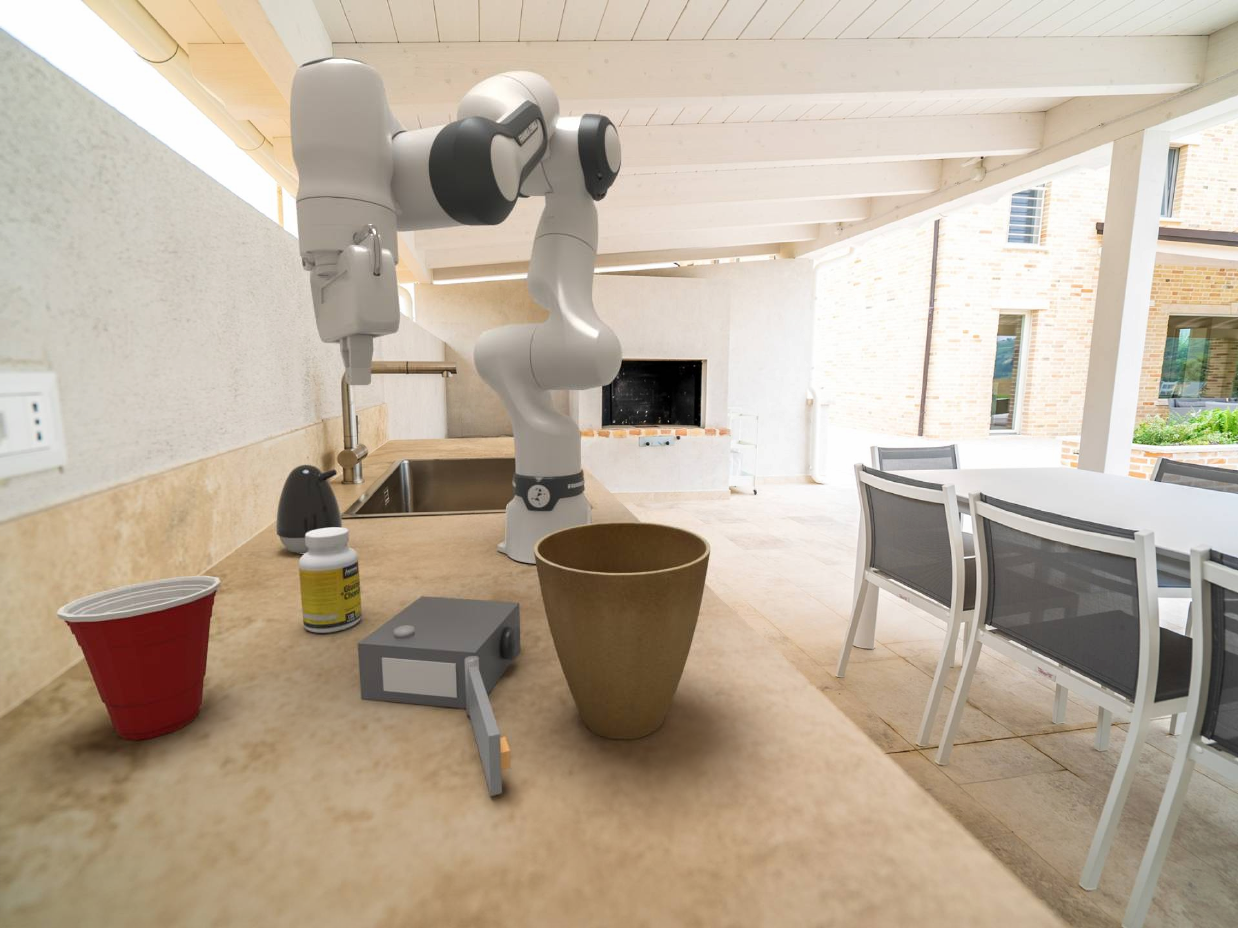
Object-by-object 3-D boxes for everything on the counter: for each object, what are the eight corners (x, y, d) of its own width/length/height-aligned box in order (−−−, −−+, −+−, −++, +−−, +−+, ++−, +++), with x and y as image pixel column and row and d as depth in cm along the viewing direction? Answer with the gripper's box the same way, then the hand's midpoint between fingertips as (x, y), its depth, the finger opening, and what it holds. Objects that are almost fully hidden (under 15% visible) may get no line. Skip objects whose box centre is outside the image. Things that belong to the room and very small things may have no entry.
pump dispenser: (326, 558, 97) (320, 469, 95) (265, 558, 97) (257, 469, 95) (355, 541, 107) (349, 460, 105) (299, 541, 107) (292, 460, 105)
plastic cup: (211, 676, 58) (199, 561, 57) (251, 714, 52) (239, 586, 50) (64, 725, 50) (45, 592, 48) (89, 778, 43) (68, 626, 42)
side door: (487, 796, 41) (485, 731, 40) (465, 709, 52) (463, 657, 51) (511, 790, 42) (509, 726, 41) (484, 705, 53) (483, 653, 52)
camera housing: (424, 642, 66) (421, 591, 65) (529, 650, 64) (528, 598, 63) (360, 699, 54) (356, 638, 53) (487, 711, 52) (484, 648, 51)
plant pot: (550, 673, 59) (548, 520, 57) (697, 675, 59) (700, 521, 56) (522, 770, 44) (517, 569, 42) (717, 774, 44) (722, 571, 42)
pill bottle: (339, 637, 67) (332, 540, 66) (291, 632, 69) (283, 537, 67) (373, 615, 74) (367, 526, 72) (328, 611, 75) (322, 524, 73)
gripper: (414, 224, 50) (421, 385, 52) (361, 263, 66) (368, 384, 68) (334, 212, 46) (345, 386, 48) (299, 256, 63) (308, 385, 65)
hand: (358, 385), depth 59 cm, fingers closed
